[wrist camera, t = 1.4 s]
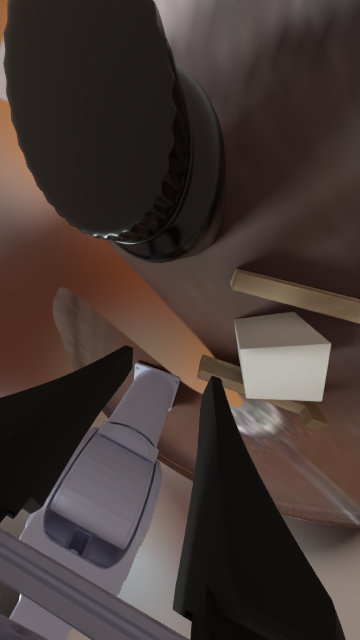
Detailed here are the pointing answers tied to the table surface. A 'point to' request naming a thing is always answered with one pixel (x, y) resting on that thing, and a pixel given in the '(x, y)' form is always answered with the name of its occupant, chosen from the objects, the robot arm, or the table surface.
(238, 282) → the chute
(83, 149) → the supplement bottle
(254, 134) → the table surface
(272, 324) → the beige cube
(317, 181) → the table surface
